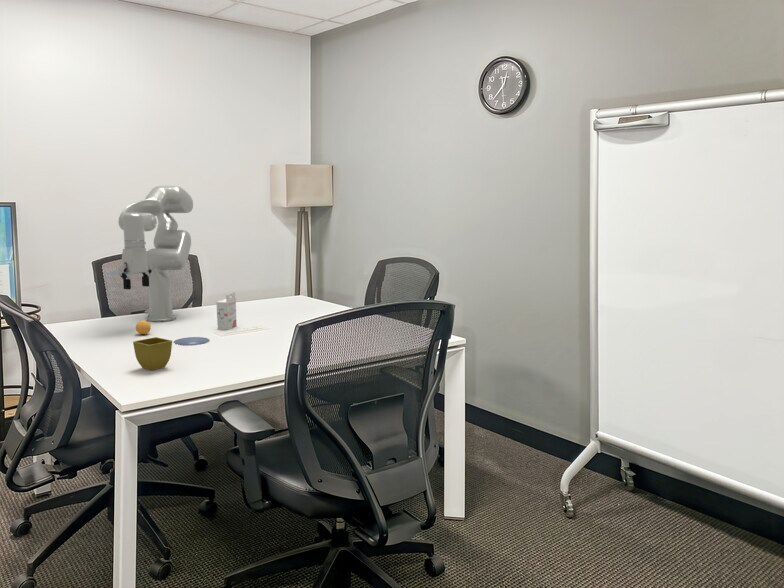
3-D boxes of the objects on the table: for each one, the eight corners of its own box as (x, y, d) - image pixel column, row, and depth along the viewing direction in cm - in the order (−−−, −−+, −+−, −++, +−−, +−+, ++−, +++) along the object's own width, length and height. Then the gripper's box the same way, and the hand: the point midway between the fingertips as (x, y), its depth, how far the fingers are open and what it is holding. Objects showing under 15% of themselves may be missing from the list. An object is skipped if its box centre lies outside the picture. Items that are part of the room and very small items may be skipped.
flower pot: (157, 363, 210) (156, 336, 208) (174, 367, 205) (172, 340, 203) (133, 368, 203) (132, 341, 201) (150, 373, 198) (148, 345, 196)
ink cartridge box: (226, 325, 271) (225, 291, 268) (236, 326, 270) (236, 291, 268) (216, 329, 262) (215, 294, 260) (227, 330, 262) (226, 294, 259)
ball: (133, 335, 250) (132, 321, 249) (144, 332, 255) (143, 319, 254) (143, 336, 248) (142, 322, 247) (154, 333, 253) (153, 320, 252)
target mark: (166, 342, 238) (166, 342, 238) (190, 336, 249) (190, 335, 249) (192, 346, 232) (192, 346, 232) (216, 339, 244) (216, 339, 244)
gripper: (143, 243, 260) (145, 284, 263) (110, 245, 245) (112, 289, 247) (157, 244, 257) (159, 285, 260) (124, 246, 242) (127, 290, 244)
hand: (136, 287), depth 253 cm, fingers open, 9 cm apart
